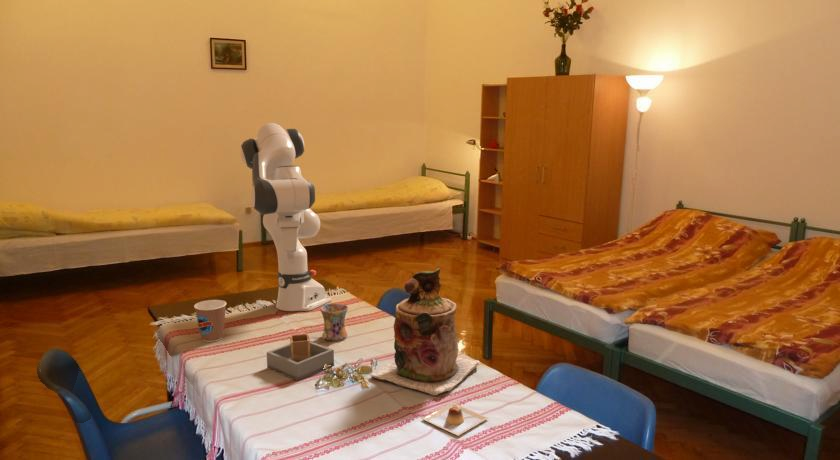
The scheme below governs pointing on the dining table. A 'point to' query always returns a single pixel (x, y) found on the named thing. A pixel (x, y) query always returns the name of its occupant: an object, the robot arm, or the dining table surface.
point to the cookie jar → (426, 340)
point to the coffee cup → (211, 319)
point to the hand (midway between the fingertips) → (291, 260)
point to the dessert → (455, 416)
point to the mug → (334, 321)
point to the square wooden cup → (300, 347)
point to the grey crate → (300, 370)
